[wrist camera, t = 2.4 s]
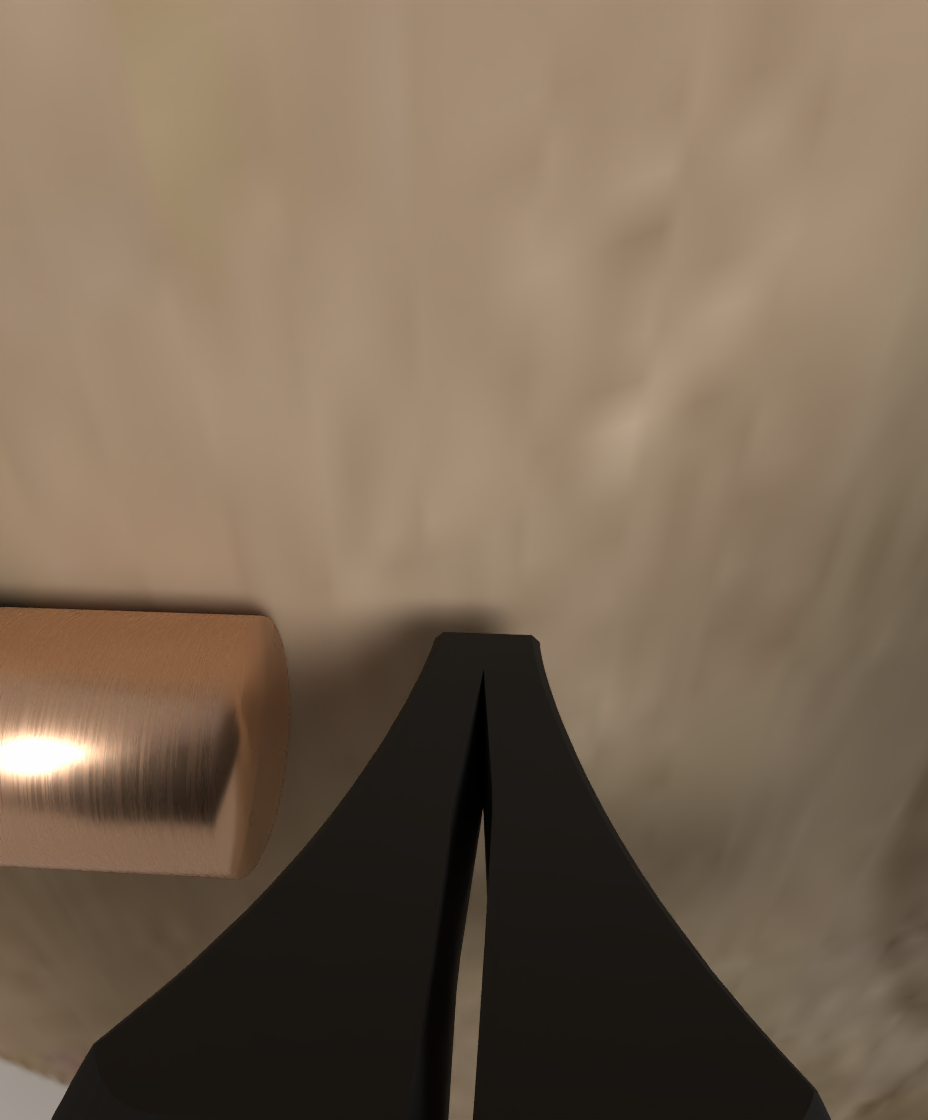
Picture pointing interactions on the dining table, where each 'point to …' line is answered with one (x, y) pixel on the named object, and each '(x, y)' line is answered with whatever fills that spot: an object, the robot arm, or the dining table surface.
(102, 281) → the dining table surface
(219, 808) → the tube
